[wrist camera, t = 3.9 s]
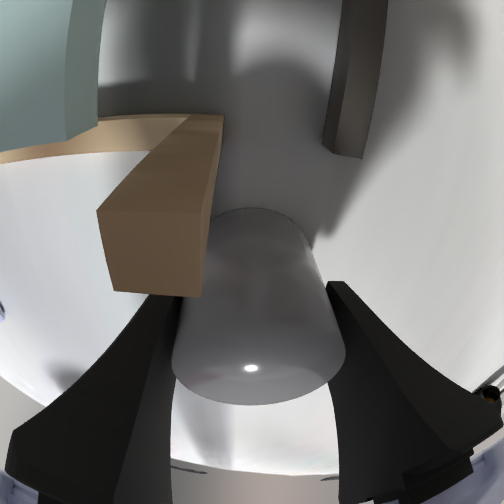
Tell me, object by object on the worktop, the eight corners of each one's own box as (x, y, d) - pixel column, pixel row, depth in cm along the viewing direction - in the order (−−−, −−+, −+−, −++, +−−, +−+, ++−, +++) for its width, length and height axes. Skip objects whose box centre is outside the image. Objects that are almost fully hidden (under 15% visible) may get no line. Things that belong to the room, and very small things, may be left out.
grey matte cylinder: (192, 301, 12) (180, 402, 8) (189, 203, 10) (160, 309, 6) (296, 305, 13) (317, 402, 9) (321, 213, 10) (373, 314, 6)
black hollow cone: (518, 385, 25) (485, 442, 30) (475, 364, 35) (452, 421, 40) (498, 421, 22) (461, 472, 27) (451, 393, 32) (427, 447, 37)
